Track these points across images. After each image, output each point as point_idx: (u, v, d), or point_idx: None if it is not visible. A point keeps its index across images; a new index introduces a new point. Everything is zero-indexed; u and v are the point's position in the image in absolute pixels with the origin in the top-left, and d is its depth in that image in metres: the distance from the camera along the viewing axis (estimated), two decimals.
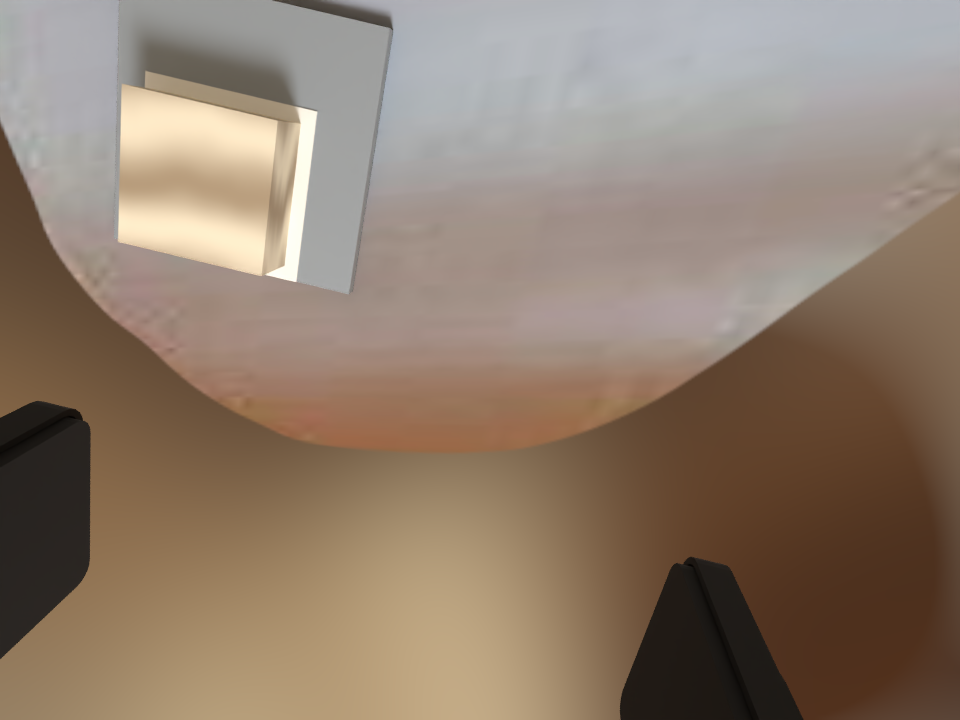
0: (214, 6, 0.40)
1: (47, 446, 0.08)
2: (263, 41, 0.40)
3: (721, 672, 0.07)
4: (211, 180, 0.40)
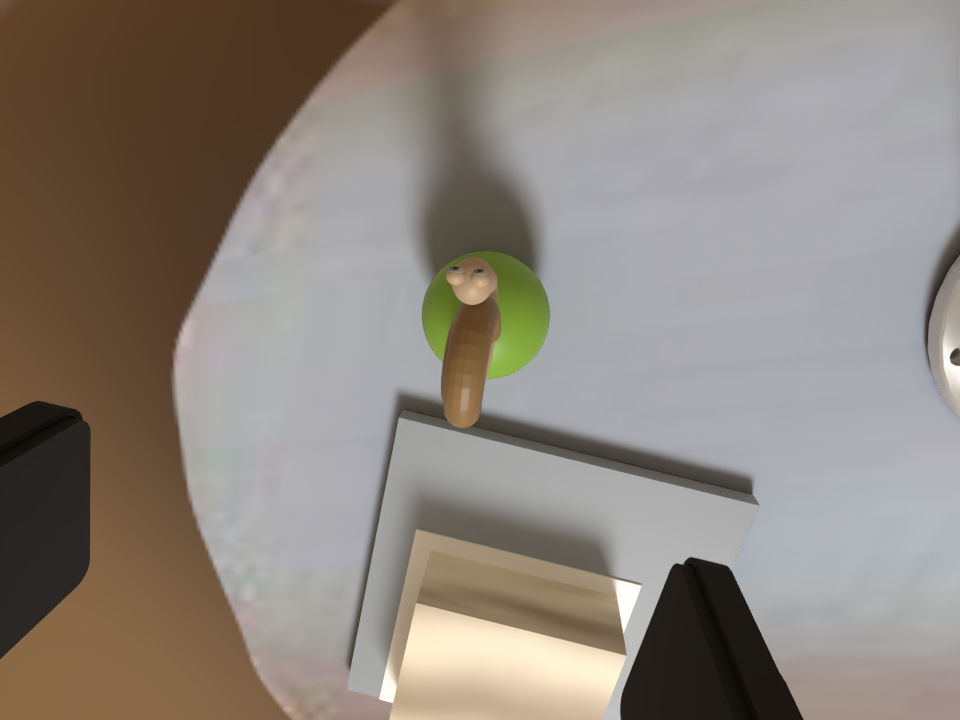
0: (520, 468, 0.30)
1: (47, 446, 0.08)
2: (581, 508, 0.31)
3: (721, 672, 0.07)
4: (520, 707, 0.30)
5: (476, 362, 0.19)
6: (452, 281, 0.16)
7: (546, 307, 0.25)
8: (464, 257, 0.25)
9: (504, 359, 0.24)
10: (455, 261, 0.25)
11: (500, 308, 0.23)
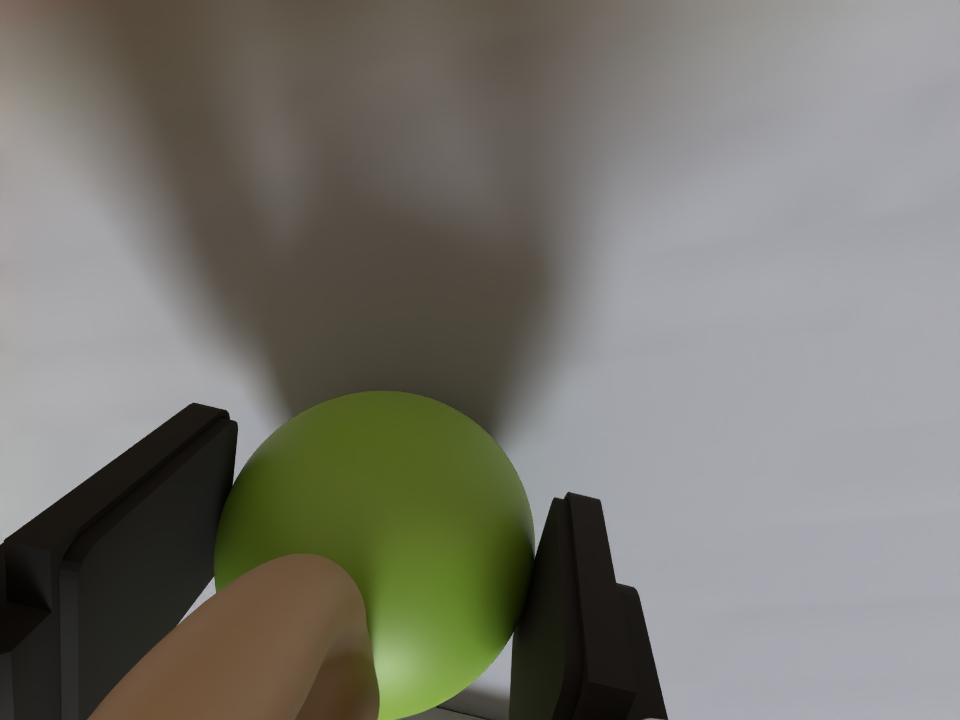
0: None
1: (212, 443, 0.09)
2: None
3: (564, 577, 0.08)
4: None
5: None
6: None
7: (526, 547, 0.10)
8: (313, 422, 0.10)
9: (414, 707, 0.09)
10: (290, 431, 0.10)
11: (391, 596, 0.08)
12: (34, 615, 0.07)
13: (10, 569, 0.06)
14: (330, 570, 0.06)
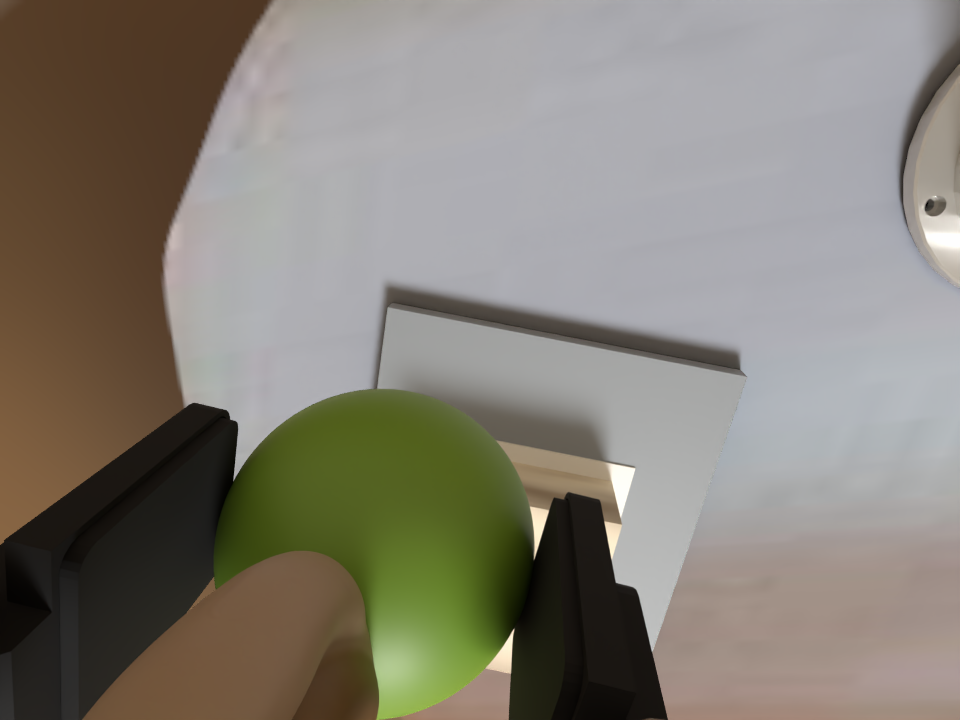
0: (510, 353, 0.31)
1: (213, 443, 0.09)
2: (572, 391, 0.31)
3: (564, 577, 0.08)
4: None
5: None
6: None
7: (525, 545, 0.10)
8: (312, 420, 0.10)
9: (413, 705, 0.09)
10: (290, 430, 0.10)
11: (391, 594, 0.08)
12: (35, 615, 0.07)
13: (11, 569, 0.06)
14: (329, 567, 0.06)
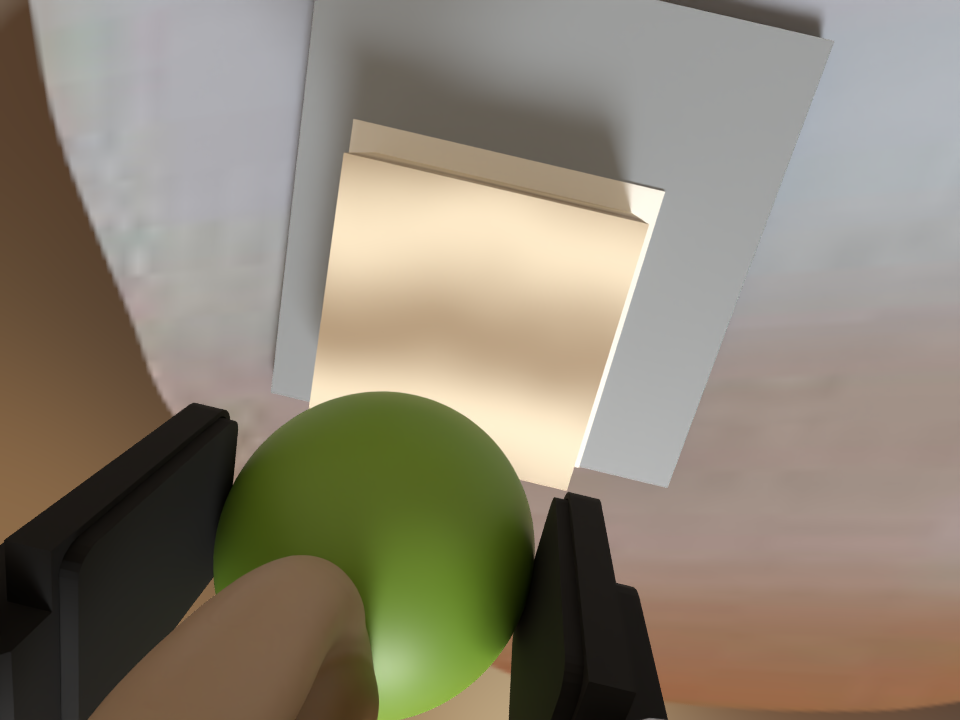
0: (496, 1, 0.21)
1: (212, 443, 0.09)
2: (582, 66, 0.22)
3: (564, 577, 0.08)
4: (497, 329, 0.21)
5: None
6: None
7: (525, 548, 0.10)
8: (312, 423, 0.10)
9: (412, 708, 0.09)
10: (290, 432, 0.10)
11: (391, 598, 0.08)
12: (34, 615, 0.07)
13: (10, 569, 0.06)
14: (328, 571, 0.06)
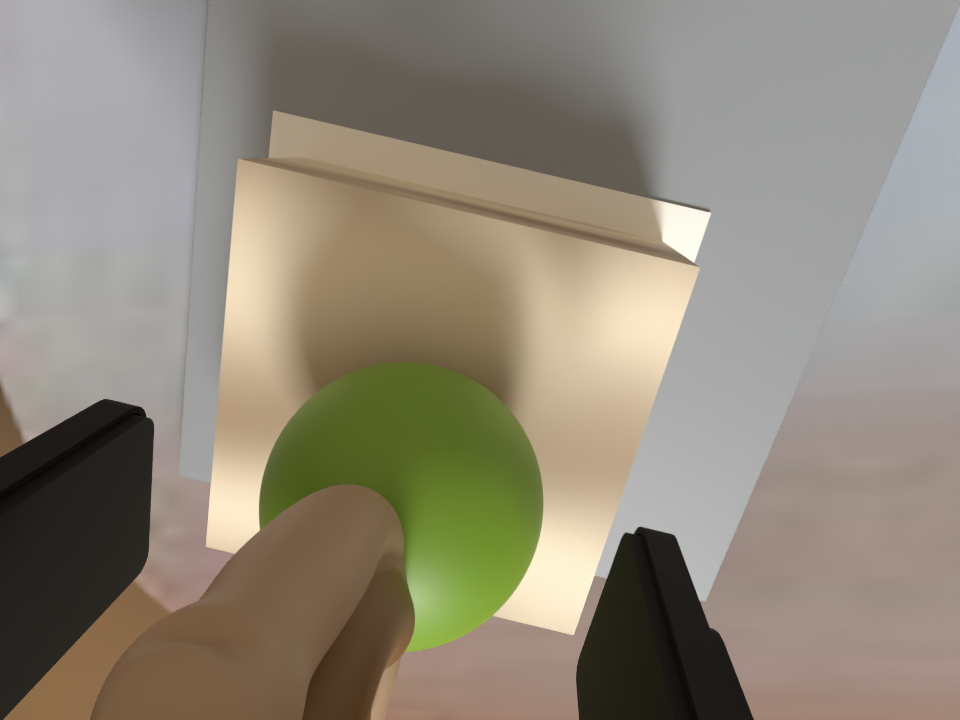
0: None
1: (119, 441, 0.09)
2: (595, 34, 0.15)
3: (654, 627, 0.07)
4: None
5: None
6: None
7: (536, 498, 0.11)
8: (347, 387, 0.11)
9: (438, 636, 0.10)
10: (327, 395, 0.11)
11: (421, 533, 0.09)
12: None
13: None
14: (376, 495, 0.07)
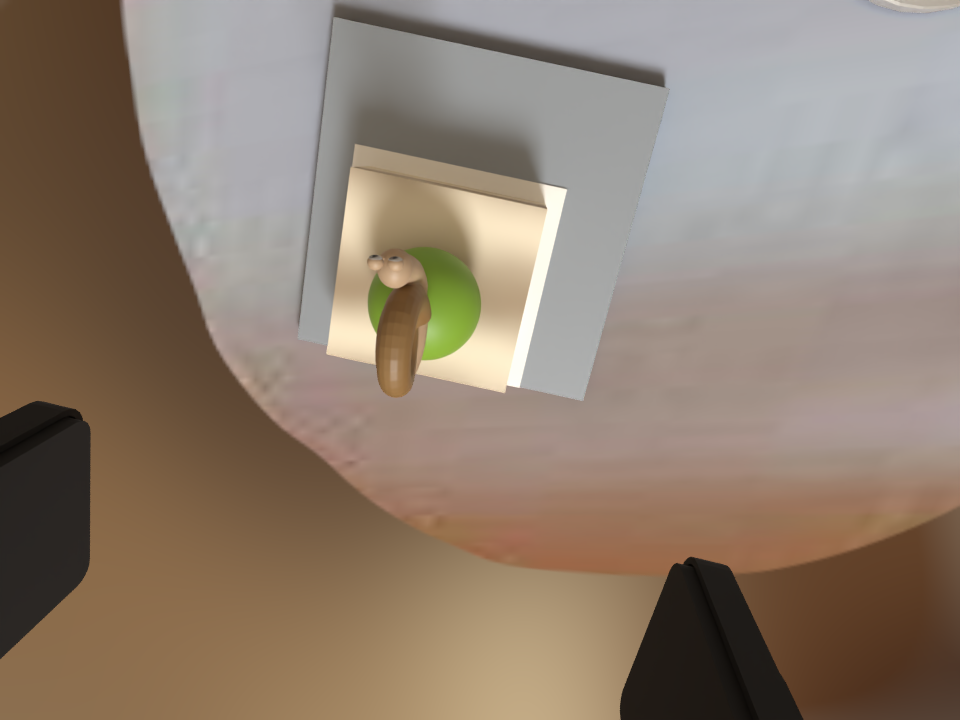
0: (449, 65, 0.32)
1: (47, 446, 0.08)
2: (507, 106, 0.33)
3: (721, 672, 0.07)
4: None
5: (402, 338, 0.22)
6: (372, 267, 0.20)
7: (476, 295, 0.28)
8: None
9: (439, 340, 0.28)
10: None
11: (432, 295, 0.27)
12: None
13: None
14: None
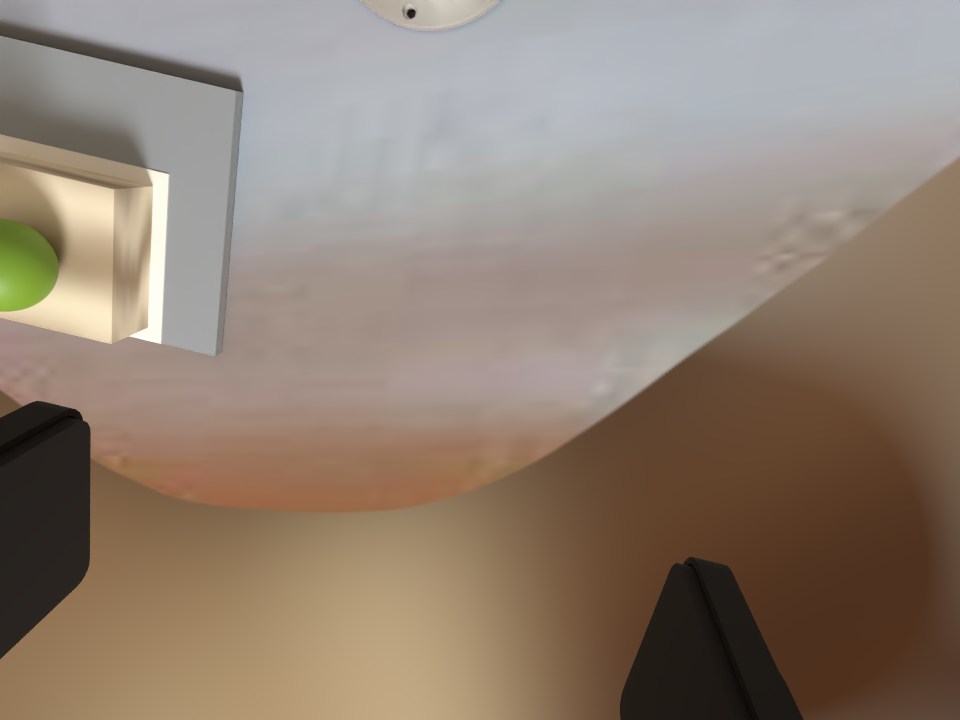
0: (57, 68, 0.39)
1: (47, 446, 0.08)
2: (109, 103, 0.39)
3: (721, 672, 0.07)
4: None
5: None
6: None
7: (32, 257, 0.35)
8: None
9: None
10: None
11: None
12: None
13: None
14: None
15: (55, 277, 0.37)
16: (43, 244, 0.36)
